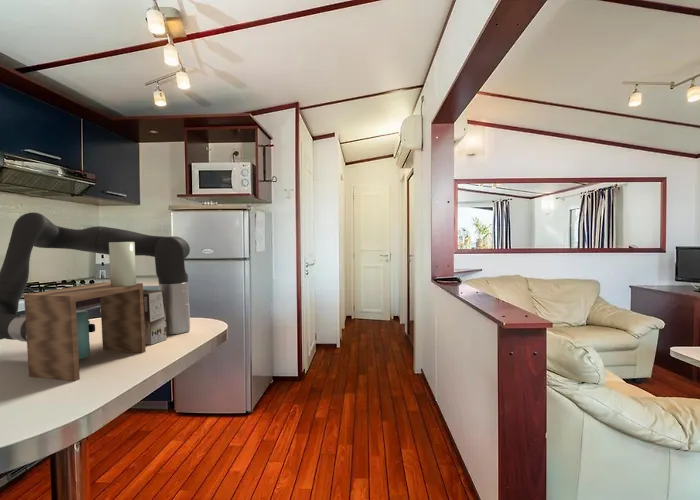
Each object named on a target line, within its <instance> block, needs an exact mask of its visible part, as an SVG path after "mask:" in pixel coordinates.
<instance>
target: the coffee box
mask: <svg viewBox="0 0 700 500" xmlns="http://www.w3.org/2000/svg"><path fill="white" fill-rule="evenodd" d="M143 301H144V324H145V345H154V344H158V343H161V342H164V341H167V340H168V337H167V336H168V335H167V330H166V307H165V290H159V289H143Z"/></svg>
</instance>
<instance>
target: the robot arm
mask: <svg viewBox="0 0 700 500" xmlns="http://www.w3.org/2000/svg"><path fill="white" fill-rule="evenodd" d="M109 242H135V257H136V256H145V257H154V264H155V265H154V267H155V274H156V276H157V279H158V290H165V307H166V330H167V336H168V335H169V336H170V335H177V334H183V333H187V332H188V333H189V332H190V330H191V313H190V312H191V310H190V301H189V300H190V299H189V295H190V294H189V275H188V273H187V270H186V267H185V264H186V263H185V259H186V258H187V257H188V256H189V255H190V251H191V249H190V245H189V243H188V241H186V239H184V238H183V237H180V236H174V235H173V236H163V235H162V236H161V235H160V236H159V235H149V234H145V233H139V232H136V231H132V230H127V229H121V228H117V227H110V226H109V227H108V226H101V225H97V226H91V227H87V228H81V229H79V228H78V229H75V228H69V227H63V226H59V225H56V224H54V223H53V222H52V221H51V220H50V219H49V218H47V217H46V216H45V215H44V214H42V213H39V212H26V213H24V214H22V215H20V216H19V217H18V218H17V219H16V221H15V222H14V225H13V227H12V231H11V235H10V239H9V242H8V245H7V249H6V253H5V257H4V259H3V263H2V266H1V268H0V340H4V339H5V340H11V341H13V340H15V341H18V342H19V341H20V342H25V343H27V336H26V319H25V314H19V313H18V311H19V303H20V300H21V297H22V296H23V293H24V291H25V289H26V287H27V284H28V281H29V276H30V275H29V274H30V259H31V258H30V257H31V254H32V251H33V249H34V247H36V248H41V249H59V250H60V249H63V250H65V249H67V250H74V251H75V250H76V251H80V252H87V253H95V254H102V255H107V256H108V255H109ZM88 322H89V333H94V332H96V325H95V323H90V320H89V319H88Z"/></svg>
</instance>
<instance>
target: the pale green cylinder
mask: <svg viewBox="0 0 700 500" xmlns="http://www.w3.org/2000/svg"><path fill="white" fill-rule="evenodd" d="M108 257H109V277H110V278H109V279H110V283H111V287H123V286H132V285H136V283H137V274H136V273H137V270H136V269H137V267H136V256H135V242H109V256H108Z"/></svg>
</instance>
